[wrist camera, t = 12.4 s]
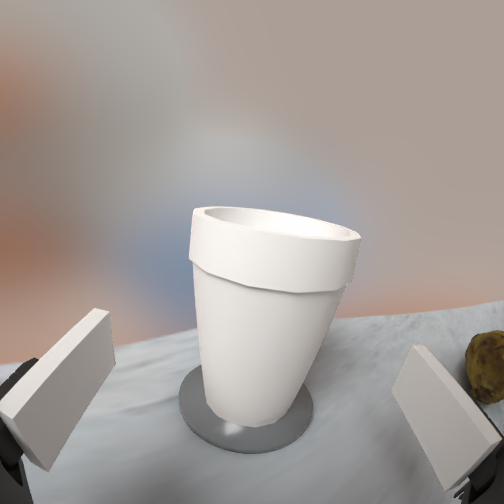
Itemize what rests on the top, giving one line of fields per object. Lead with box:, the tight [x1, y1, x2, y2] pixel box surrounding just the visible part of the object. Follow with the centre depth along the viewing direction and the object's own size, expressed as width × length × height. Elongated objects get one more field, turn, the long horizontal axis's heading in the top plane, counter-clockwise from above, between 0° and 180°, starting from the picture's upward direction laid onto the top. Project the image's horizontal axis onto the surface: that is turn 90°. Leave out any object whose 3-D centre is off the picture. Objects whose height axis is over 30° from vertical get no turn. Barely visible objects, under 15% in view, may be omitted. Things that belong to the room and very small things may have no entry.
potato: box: [465, 330, 504, 404], centre depth 18 cm, size 8×13×8 cm, turn 119°
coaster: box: [179, 365, 313, 454], centre depth 19 cm, size 10×10×1 cm
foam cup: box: [189, 207, 361, 427], centre depth 17 cm, size 10×9×13 cm
